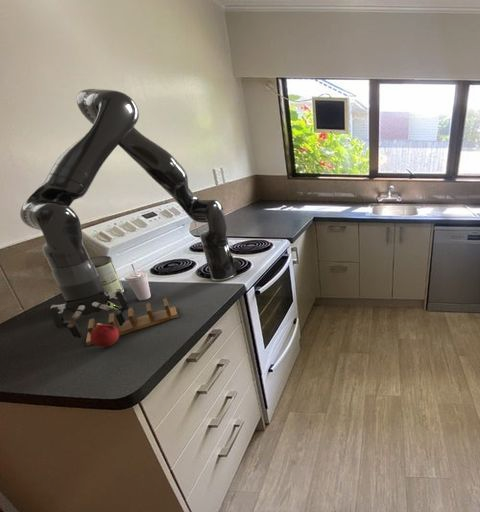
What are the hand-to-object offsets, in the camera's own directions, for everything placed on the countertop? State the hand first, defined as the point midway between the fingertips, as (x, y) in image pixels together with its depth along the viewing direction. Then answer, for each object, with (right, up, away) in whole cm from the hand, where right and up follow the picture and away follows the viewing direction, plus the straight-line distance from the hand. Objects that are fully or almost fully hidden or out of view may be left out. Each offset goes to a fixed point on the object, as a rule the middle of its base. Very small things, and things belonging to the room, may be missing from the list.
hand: (101, 330), depth 80 cm
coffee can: (-27, +6, +29) cm, 40 cm away
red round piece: (0, -5, +2) cm, 6 cm away
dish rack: (0, -2, +11) cm, 11 cm away
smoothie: (-11, +5, +27) cm, 30 cm away
